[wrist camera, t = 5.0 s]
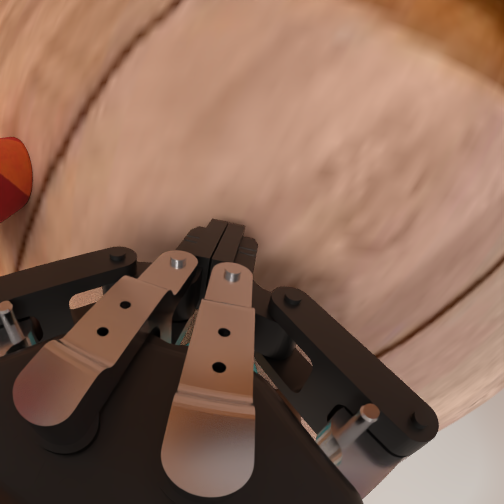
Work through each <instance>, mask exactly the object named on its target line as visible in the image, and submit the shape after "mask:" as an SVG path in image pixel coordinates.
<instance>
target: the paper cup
mask: <svg viewBox="0 0 504 504" xmlns="http://www.w3.org/2000/svg"><path fill="white" fill-rule="evenodd" d="M31 190H32V167H31V162H30V158H29V155H28V152H27V150H26V148H25V146H24V144H23V143H22V142H21V141H20V140H19V139H17V138H15V137H6V138H0V223H1V222H3V221H4V220H5V219H7V218H8V217H10V216H11V215H13V214H14V213H15V212H17V211H18V210H20V209H21V208H22V207H23V206H24V205H25V204H26V203H27V202H28V200H29V197H30V194H31Z"/></svg>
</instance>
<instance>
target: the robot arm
mask: <svg viewBox="0 0 504 504" xmlns="http://www.w3.org/2000/svg"><path fill="white" fill-rule="evenodd" d="M244 231H245V226H244V225H239V224H235V223H230V222H229V224H228V222H225V221H221V220H216V219H212V220H211V222H210V223H209V225H208V226H207V228H204V227H196V228H194V229H192V230H191V231H190V232H189V233H188V235H187V236H186V237H185V238H184V240H183V241H182V242H181V244H180V245H179V246H178V248H177V249H176V250H172V251H167V252H164V253H162V254H161V255H160V256H159V257H158V258H157V259H156V260H155V261H154V262H153V263H148V262H137V255H136V253H135V252H134V251H133V250H131V249H129V248H126V247H111V248H107V249H103V250H99V251H95V252H91V253H87V254H82V255H78V256H75V257H71V258H67V259H63V260H59V261H55V262H51V263H48V264H44V265H40V266H36V267H33V268H29V269H25V270H22V271H18V272H15V273H11V274H8V275H4V276H1V277H0V504H363V501H362V499H363V498H364V497H365V496H366V495H368V494H369V493H370V492H371V491H372V490H373V489H374V488H375V487H376V486H377V485H378V484H379V483H380V482H381V481H382V480H383V479H384V478H385V477H386V476H387V475H388V474H389V473H390V472H391V471H392V470H393V469H394V468H395V466H396V465H397V464H398V463H400V462H401V461H403V460H404V459H406V458H407V457H409V456H410V455H412V454H413V453H414V452H416V451H417V450H419V449H420V448H421V447H423V446H424V445H425V444H427V443H428V442H429V441H431V440H432V439H433V438H434V437H435V436H436V434H437V432H438V428H439V423H438V418H437V416H436V414H435V412H434V411H433V409H432V408H431V407H430V406H429V405H428V404H427V403H426V402H424V401H423V400H422V399H421V398H420V397H419V396H418V395H417V394H416V393H415V392H414V391H412V390H411V389H410V388H409V387H408V386H407V385H406V384H405V383H404V382H403V381H402V380H401V379H399V378H398V377H397V376H396V375H395V374H394V373H393V372H392V371H391V370H390V369H389V368H387V367H386V366H385V365H384V364H383V363H382V362H381V361H380V360H379V359H378V358H376V357H375V356H374V355H373V354H372V353H371V352H370V351H369V350H368V349H367V348H366V347H364V346H363V345H362V344H361V343H360V342H359V341H358V340H357V339H356V338H355V337H353V336H352V335H351V334H350V333H349V332H348V331H347V330H346V329H345V328H344V327H342V326H341V325H340V324H339V323H338V322H337V321H336V320H335V319H334V318H333V317H331V316H330V315H329V314H328V313H327V312H326V311H325V310H324V309H323V308H322V307H320V306H319V305H318V304H317V303H316V302H315V301H314V300H313V299H312V298H310V297H309V296H308V295H307V294H306V293H304V292H303V291H301V290H299V289H296V288H293V287H278V288H276V289H274V290H273V292H272V293H271V292H268V291H266V290H264V289H262V288H261V287H259V286H258V285H257V284H256V283H255V282H254V280H253V275H252V274H253V269H254V264H255V258H256V253H257V248H258V244H257V242H256V241H255V239H253V238H249V237H244ZM101 286H102V289H103V296H102V297H101V298H100V299H99V300H98V301H97V302H95V303H92V304H89V305H86V306H83V307H80V308H76V309H70V307H69V301H70V299H71V297H72V296H74V295H75V294H78V293H81V292H85V291H88V290H91V289H95V288H98V287H101ZM195 309H198V310H199V311H198V314H197V318H196V322H195V325H194V329H193V333H192V336H191V340H190V344H189V346H187V345H180V343H181V341H182V339H183V338H184V336H185V334H186V332H187V330H188V328H189V326H190V325H191V322H192V315H193V314H194V311H195ZM296 344H297V345H298V346H299V347H300V348H301V349H302V350H303V351H304V352H305V353H306V354H307V356H308V357H309V358H310V360H311V362H312V365H311V364H310V363H309V362H308V361H307V360H306V359H305V358H304V357H303V356H302V355H301V353H300V352H299V351H298V350H297V349H296V348H295V346H296ZM254 357H255V359H256V361H257V362H258V364H259V365H260V366H261V367H262V369H263V370H264V371H265V373H266V374H267V375H268V376H269V378H270V379H271V380H272V381H273V383H274V384H275V385H276V386H277V388H278V389H279V390H280V391H281V392H282V394H283V395H284V396H285V397H286V399H287V400H288V401H289V402H290V403H291V405H292V406H293V407H294V408H295V409H296V411H297V412H298V413H299V414H300V415H301V417H302V418H303V419H304V420H305V421H306V422H307V424H308V425H309V426H310V427H311V428H312V429H313V430H314V432H315V433H316V434H317V437H316V442H315V440H314V439H313V438H312V437H311V435H310V434H309V433H308V432H307V430H306V429H305V428H304V427H303V425H302V424H301V423H300V422H299V420H298V419H297V418H296V416H295V415H294V414H293V413H292V411H291V410H290V409H289V407H288V406H287V405H286V403H285V402H284V401H283V399H282V398H281V397H280V396H279V394H278V393H277V391H276V390H275V389H274V388H273V387H272V385H271V384H270V383H269V382H268V381H267V380H265V379H264V378H263V377H262V376H260V375H259V374H258V373H256V372H255V371H253V368H254Z"/></svg>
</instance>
